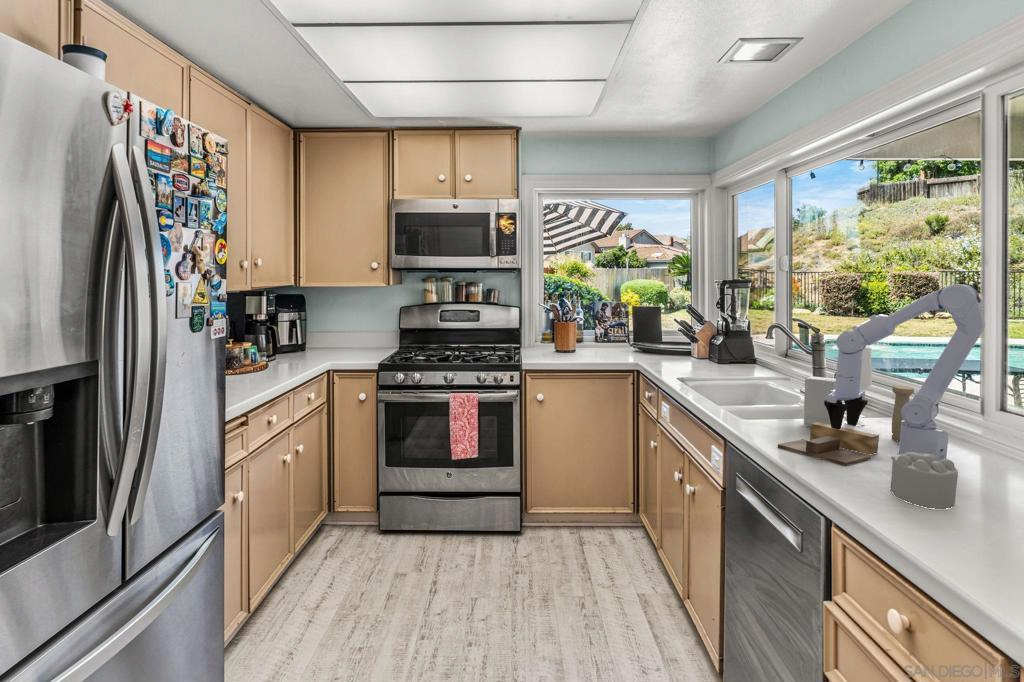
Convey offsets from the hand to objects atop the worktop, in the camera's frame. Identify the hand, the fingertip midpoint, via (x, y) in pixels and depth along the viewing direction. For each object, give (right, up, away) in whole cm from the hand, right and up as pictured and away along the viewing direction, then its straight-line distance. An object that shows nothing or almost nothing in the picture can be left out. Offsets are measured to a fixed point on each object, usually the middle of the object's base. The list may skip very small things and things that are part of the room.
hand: (843, 426), depth 163 cm
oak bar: (0, -6, +1) cm, 6 cm away
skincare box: (+5, -3, +23) cm, 23 cm away
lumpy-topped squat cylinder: (-4, -10, -37) cm, 39 cm away
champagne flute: (+18, -3, +27) cm, 33 cm away
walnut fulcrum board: (-9, -6, -6) cm, 12 cm away
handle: (+20, -5, +9) cm, 22 cm away
